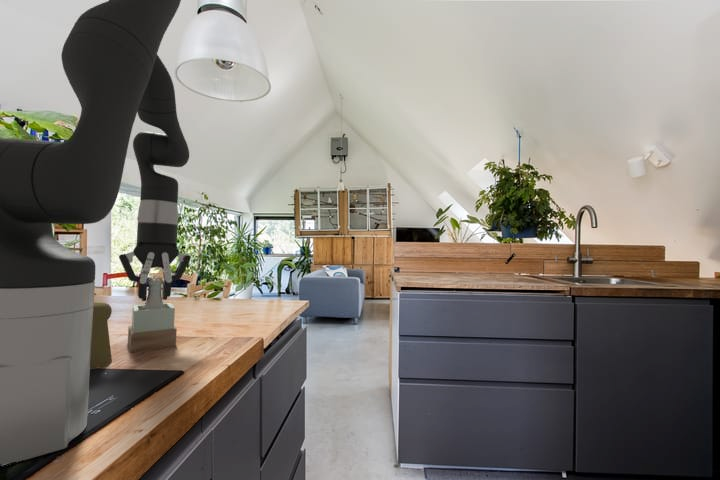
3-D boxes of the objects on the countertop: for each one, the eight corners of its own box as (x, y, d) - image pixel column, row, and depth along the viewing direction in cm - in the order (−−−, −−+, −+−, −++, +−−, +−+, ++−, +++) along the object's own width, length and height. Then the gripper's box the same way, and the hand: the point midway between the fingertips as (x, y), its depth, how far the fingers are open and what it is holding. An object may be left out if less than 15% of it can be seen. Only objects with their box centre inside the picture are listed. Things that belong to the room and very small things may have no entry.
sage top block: (173, 328, 68) (174, 307, 68) (133, 333, 63) (134, 311, 63) (169, 321, 73) (170, 302, 73) (131, 325, 69) (132, 305, 69)
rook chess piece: (153, 316, 66) (155, 279, 66) (136, 315, 67) (137, 278, 67) (170, 312, 70) (172, 277, 70) (153, 311, 71) (155, 276, 71)
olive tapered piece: (57, 371, 52) (61, 306, 53) (83, 359, 58) (87, 300, 59) (97, 370, 53) (101, 306, 54) (119, 358, 59) (122, 300, 60)
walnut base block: (175, 347, 68) (176, 328, 68) (130, 354, 62) (131, 334, 63) (169, 338, 74) (170, 321, 74) (127, 344, 68) (128, 325, 69)
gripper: (119, 218, 62) (114, 305, 61) (197, 224, 71) (193, 299, 70) (117, 220, 67) (113, 300, 67) (189, 225, 76) (186, 295, 76)
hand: (154, 299), depth 68 cm, fingers closed on rook chess piece, 3 cm apart
